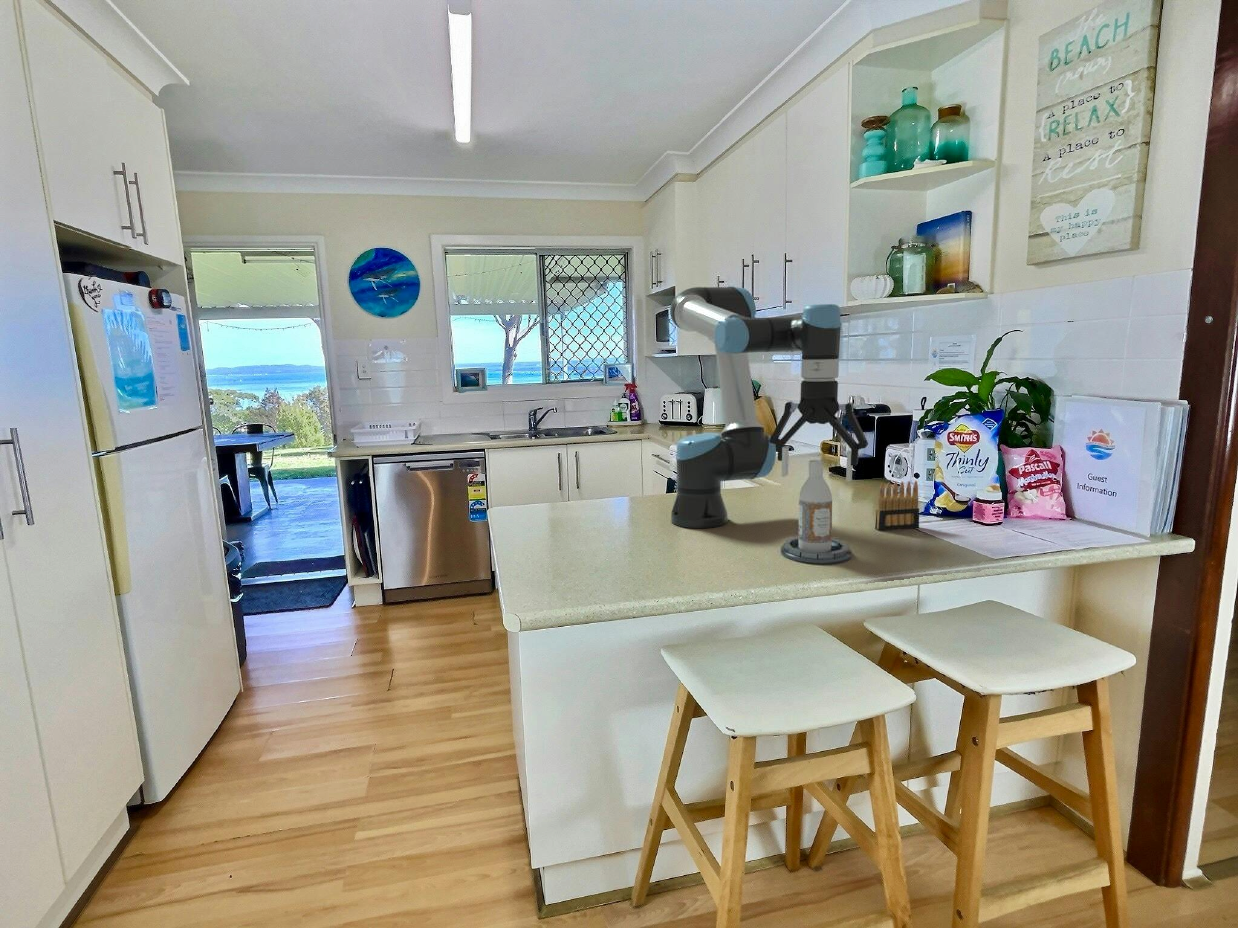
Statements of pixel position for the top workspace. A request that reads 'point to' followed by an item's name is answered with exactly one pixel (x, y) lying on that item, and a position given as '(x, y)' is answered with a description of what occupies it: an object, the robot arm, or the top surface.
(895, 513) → the ammunition clip
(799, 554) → the ring tray
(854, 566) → the top surface
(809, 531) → the bath foam
